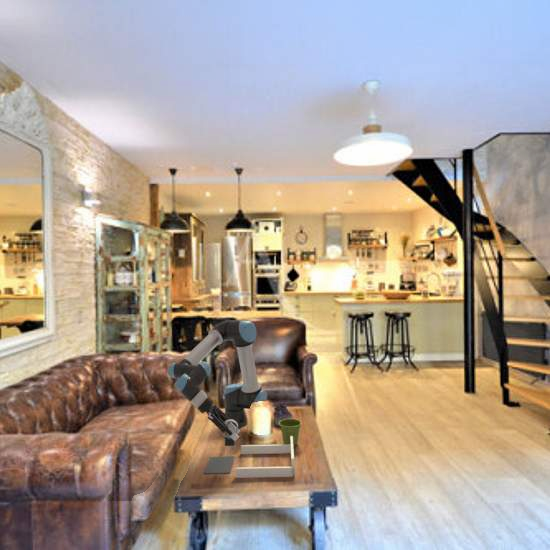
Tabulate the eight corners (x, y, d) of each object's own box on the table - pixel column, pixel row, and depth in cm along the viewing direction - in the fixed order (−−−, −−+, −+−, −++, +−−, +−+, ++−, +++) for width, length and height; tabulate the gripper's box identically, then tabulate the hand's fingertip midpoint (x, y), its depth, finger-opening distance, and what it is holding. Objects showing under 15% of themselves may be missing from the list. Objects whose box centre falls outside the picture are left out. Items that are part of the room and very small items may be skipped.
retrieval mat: (210, 457, 198) (210, 456, 198) (234, 457, 198) (234, 456, 198) (203, 473, 182) (203, 472, 182) (230, 473, 182) (230, 472, 182)
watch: (221, 441, 191) (221, 418, 191) (238, 440, 191) (238, 417, 192) (220, 446, 186) (220, 422, 186) (238, 445, 186) (237, 421, 186)
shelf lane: (241, 453, 202) (240, 437, 202) (293, 452, 201) (292, 436, 201) (235, 477, 177) (235, 459, 177) (294, 476, 177) (294, 458, 177)
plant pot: (302, 448, 205) (302, 426, 205) (279, 449, 205) (279, 427, 205) (301, 438, 217) (300, 418, 217) (279, 439, 217) (278, 418, 217)
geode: (269, 416, 254) (270, 400, 254) (287, 417, 255) (288, 401, 256) (273, 427, 233) (275, 409, 234) (293, 428, 235) (294, 410, 236)
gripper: (200, 401, 198) (234, 433, 198) (192, 414, 179) (229, 450, 179) (211, 390, 198) (244, 423, 198) (204, 402, 179) (241, 438, 179)
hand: (237, 436), depth 189 cm, fingers closed on watch, 5 cm apart
